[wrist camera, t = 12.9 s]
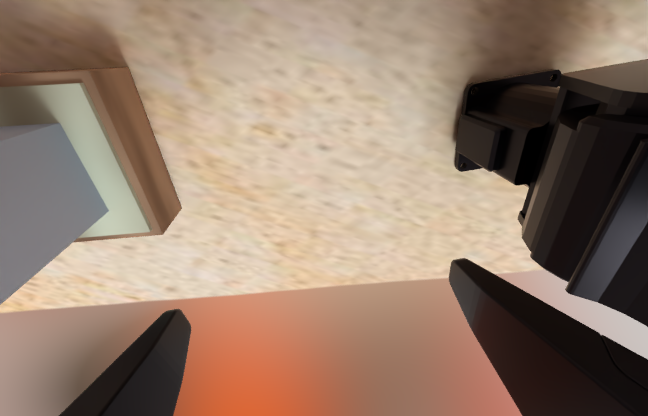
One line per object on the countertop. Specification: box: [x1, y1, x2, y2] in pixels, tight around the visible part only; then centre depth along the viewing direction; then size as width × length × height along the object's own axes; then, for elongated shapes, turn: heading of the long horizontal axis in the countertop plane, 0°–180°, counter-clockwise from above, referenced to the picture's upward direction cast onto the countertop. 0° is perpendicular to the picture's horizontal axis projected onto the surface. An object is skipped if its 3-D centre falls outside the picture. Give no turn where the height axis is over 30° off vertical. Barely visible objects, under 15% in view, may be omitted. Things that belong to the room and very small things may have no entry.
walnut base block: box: [0, 67, 182, 242], centre depth 16 cm, size 10×10×4 cm
